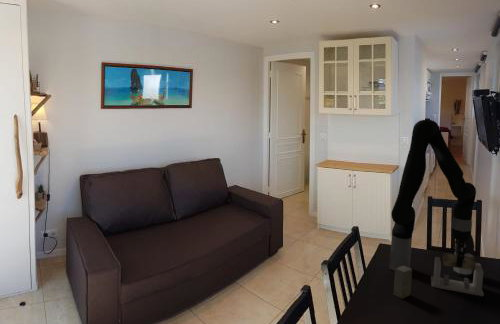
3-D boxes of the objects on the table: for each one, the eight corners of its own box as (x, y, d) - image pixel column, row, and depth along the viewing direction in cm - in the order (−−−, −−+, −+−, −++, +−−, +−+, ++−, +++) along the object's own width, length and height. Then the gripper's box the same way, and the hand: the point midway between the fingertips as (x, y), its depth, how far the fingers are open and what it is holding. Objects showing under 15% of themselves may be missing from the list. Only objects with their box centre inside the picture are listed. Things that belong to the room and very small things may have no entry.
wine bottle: (466, 270, 178) (472, 212, 173) (475, 278, 170) (481, 217, 165) (449, 269, 179) (455, 211, 174) (457, 277, 171) (463, 216, 166)
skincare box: (402, 299, 151) (404, 272, 149) (392, 294, 155) (394, 268, 153) (410, 295, 154) (412, 268, 153) (401, 290, 158) (403, 264, 156)
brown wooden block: (443, 265, 160) (444, 257, 160) (443, 261, 165) (443, 252, 164) (475, 270, 155) (475, 261, 155) (473, 265, 160) (474, 257, 159)
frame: (431, 286, 162) (433, 263, 160) (430, 278, 170) (432, 256, 168) (483, 296, 153) (486, 272, 152) (480, 287, 162) (482, 264, 160)
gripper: (450, 222, 165) (447, 256, 168) (453, 231, 152) (450, 269, 155) (469, 224, 162) (466, 259, 165) (473, 234, 149) (470, 272, 152)
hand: (458, 264), depth 160 cm, fingers closed on brown wooden block, 5 cm apart
